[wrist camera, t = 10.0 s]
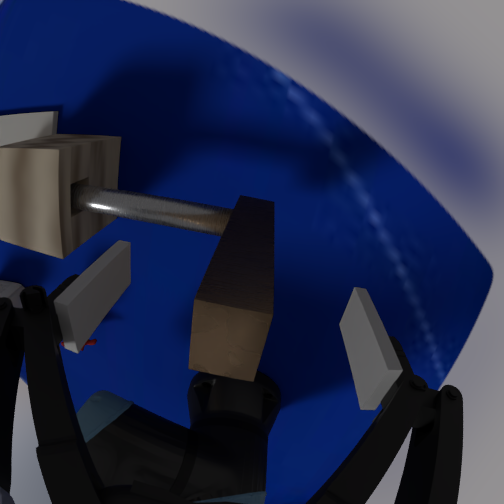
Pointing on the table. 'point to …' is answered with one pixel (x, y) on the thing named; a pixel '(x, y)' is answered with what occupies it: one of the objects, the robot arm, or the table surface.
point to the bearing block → (54, 190)
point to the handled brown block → (212, 271)
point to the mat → (27, 126)
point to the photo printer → (11, 292)
